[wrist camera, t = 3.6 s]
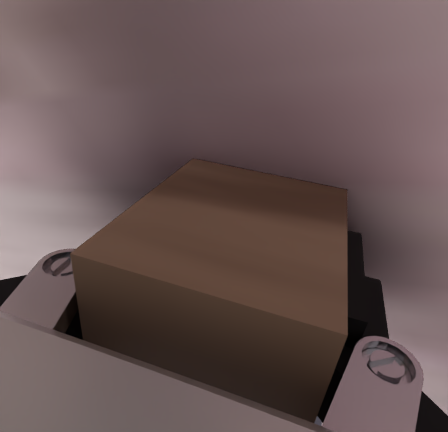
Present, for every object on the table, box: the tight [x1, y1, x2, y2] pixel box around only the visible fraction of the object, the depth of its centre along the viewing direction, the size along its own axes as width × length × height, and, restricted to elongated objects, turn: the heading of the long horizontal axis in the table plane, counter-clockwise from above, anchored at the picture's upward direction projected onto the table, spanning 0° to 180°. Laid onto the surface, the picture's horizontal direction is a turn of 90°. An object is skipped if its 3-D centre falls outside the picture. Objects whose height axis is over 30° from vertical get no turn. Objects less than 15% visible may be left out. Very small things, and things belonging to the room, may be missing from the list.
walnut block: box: [70, 159, 348, 423], centre depth 10 cm, size 5×5×6 cm
